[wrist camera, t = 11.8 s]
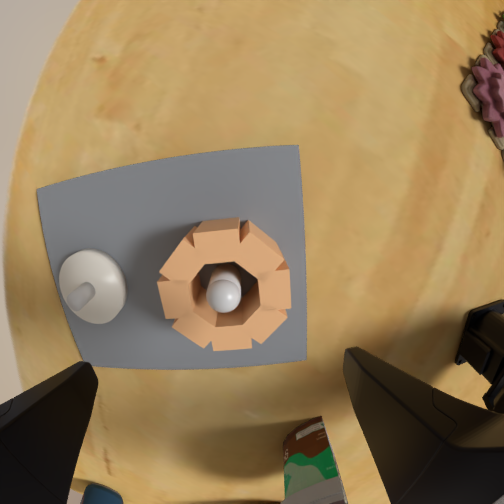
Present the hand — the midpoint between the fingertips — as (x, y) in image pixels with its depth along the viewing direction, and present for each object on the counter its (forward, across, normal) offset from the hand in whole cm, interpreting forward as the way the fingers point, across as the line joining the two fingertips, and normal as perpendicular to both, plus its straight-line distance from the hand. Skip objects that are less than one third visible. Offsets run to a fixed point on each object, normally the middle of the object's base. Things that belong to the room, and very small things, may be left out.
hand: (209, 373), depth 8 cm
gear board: (+10, +4, 0) cm, 11 cm away
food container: (+11, -5, +21) cm, 24 cm away
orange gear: (+10, 0, 0) cm, 10 cm away
